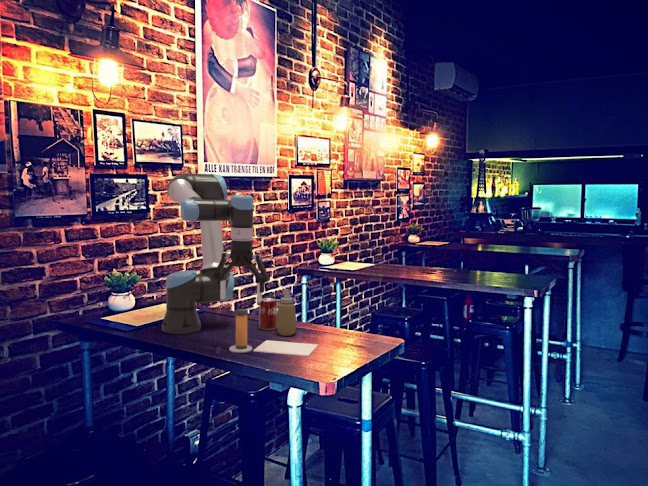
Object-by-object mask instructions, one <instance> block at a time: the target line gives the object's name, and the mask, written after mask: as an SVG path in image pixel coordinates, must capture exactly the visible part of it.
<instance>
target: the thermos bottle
mask: <svg viewBox="0 0 648 486" xmlns="http://www.w3.org/2000/svg"><path fill="white" fill-rule="evenodd" d="M248 311H249V310H248V309H246V308H236V309H235V345H236V349H247V345H248V315H249V312H248Z"/></svg>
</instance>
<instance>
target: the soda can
mask: <svg viewBox="0 0 648 486" xmlns="http://www.w3.org/2000/svg"><path fill="white" fill-rule="evenodd" d="M258 305H259V306H258V307H259V308H258V309H259V311H258V315H259V318H258V328H259V329H261V331H273V330H277V326H276V322H277V313H278V300H277V299H276V298H272V297H265V298H263V297H262V301H261V302H258Z"/></svg>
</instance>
